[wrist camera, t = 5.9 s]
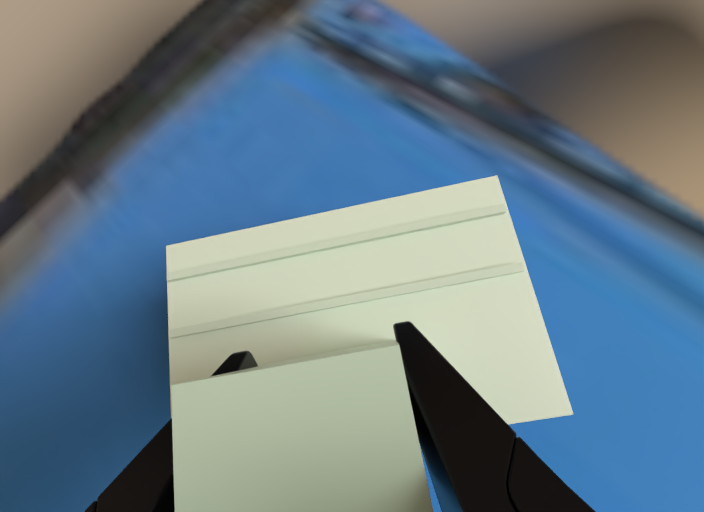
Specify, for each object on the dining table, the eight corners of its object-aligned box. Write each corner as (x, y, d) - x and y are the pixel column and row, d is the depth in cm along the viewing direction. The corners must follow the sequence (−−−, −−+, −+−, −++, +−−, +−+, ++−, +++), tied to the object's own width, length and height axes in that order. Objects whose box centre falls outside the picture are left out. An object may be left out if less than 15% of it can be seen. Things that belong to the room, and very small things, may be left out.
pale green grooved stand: (560, 408, 11) (917, 562, 4) (186, 467, 12) (-156, 683, 5) (491, 184, 13) (619, -17, 6) (178, 250, 14) (-64, 155, 7)
